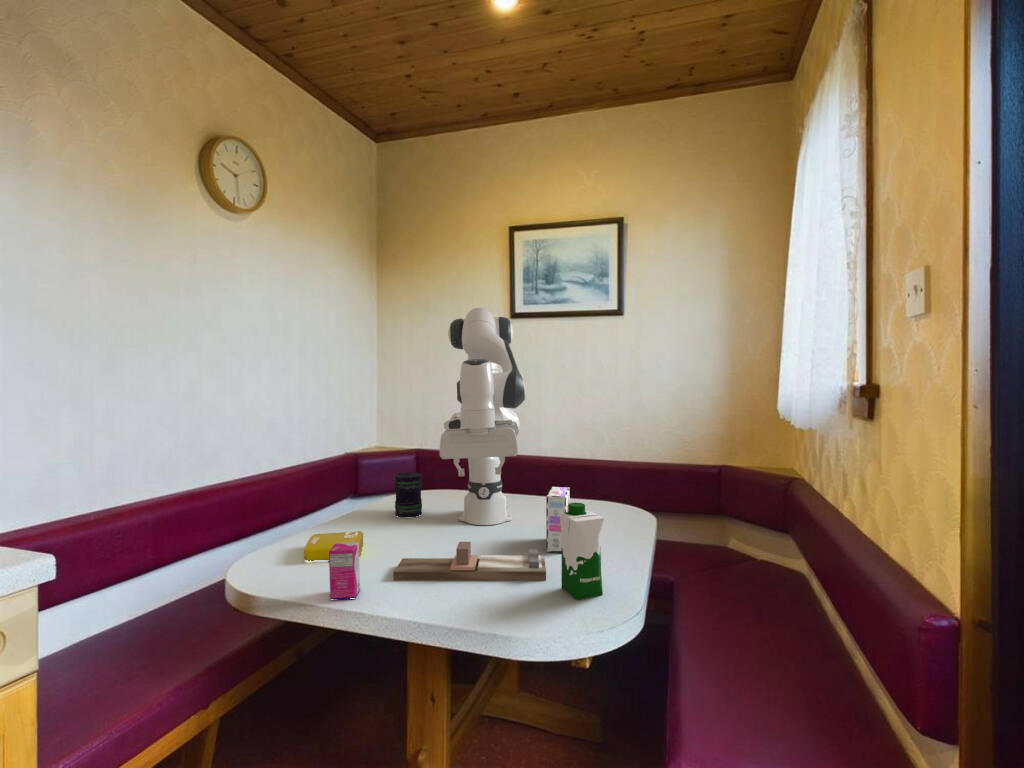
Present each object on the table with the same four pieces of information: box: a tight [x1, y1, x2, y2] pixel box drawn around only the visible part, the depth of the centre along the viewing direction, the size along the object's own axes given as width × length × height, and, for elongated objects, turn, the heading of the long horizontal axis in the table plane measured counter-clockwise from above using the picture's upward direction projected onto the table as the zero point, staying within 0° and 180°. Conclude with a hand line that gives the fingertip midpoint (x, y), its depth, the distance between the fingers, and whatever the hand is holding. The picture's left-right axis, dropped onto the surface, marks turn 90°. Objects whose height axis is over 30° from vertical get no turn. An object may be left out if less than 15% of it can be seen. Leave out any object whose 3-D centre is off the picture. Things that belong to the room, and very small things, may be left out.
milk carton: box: [559, 502, 605, 601], centre depth 122 cm, size 9×9×20 cm
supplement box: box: [328, 542, 361, 599], centre depth 121 cm, size 6×6×12 cm
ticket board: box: [392, 548, 547, 581], centre depth 134 cm, size 10×38×5 cm, turn 89°
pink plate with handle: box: [451, 541, 479, 570], centre depth 134 cm, size 9×6×5 cm, turn 179°
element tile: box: [303, 530, 364, 561], centre depth 150 cm, size 15×15×5 cm
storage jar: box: [394, 471, 423, 518], centre depth 193 cm, size 10×10×15 cm
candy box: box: [545, 486, 571, 554], centre depth 156 cm, size 14×6×16 cm, turn 168°
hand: (479, 475), depth 134 cm, fingers open, 8 cm apart
